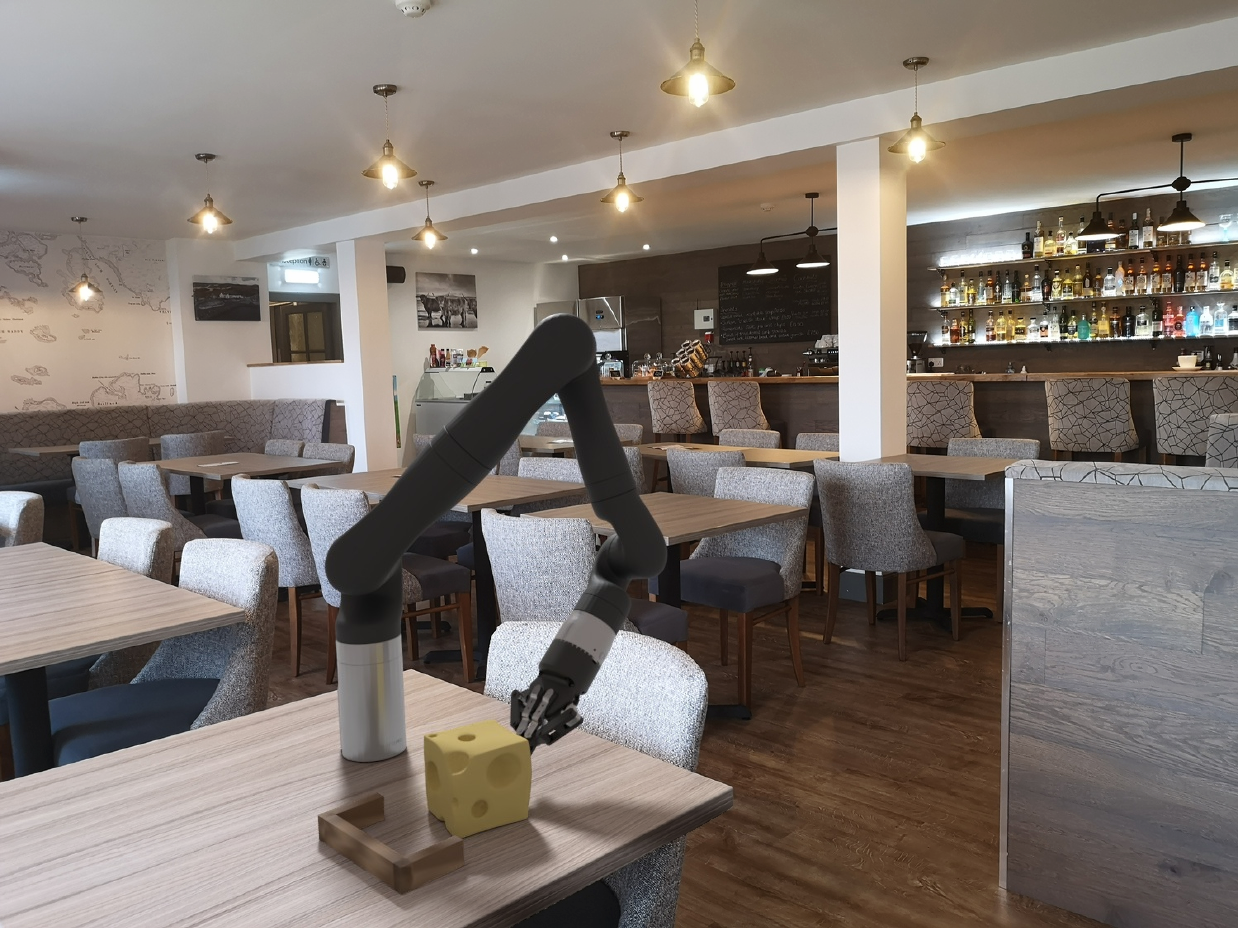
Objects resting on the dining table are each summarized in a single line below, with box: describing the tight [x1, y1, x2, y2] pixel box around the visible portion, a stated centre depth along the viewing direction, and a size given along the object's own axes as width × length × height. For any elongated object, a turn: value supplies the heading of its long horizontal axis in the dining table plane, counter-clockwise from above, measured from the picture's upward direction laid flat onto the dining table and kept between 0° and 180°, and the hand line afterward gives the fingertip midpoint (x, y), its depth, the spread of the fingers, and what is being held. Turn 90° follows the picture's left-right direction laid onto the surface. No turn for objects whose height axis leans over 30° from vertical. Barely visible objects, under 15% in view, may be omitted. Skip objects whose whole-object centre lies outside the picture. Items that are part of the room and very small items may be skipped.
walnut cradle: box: [317, 792, 465, 896], centre depth 107 cm, size 18×8×3 cm, turn 45°
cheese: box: [423, 718, 533, 839], centre depth 115 cm, size 10×11×10 cm
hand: (511, 766), depth 119 cm, fingers closed
